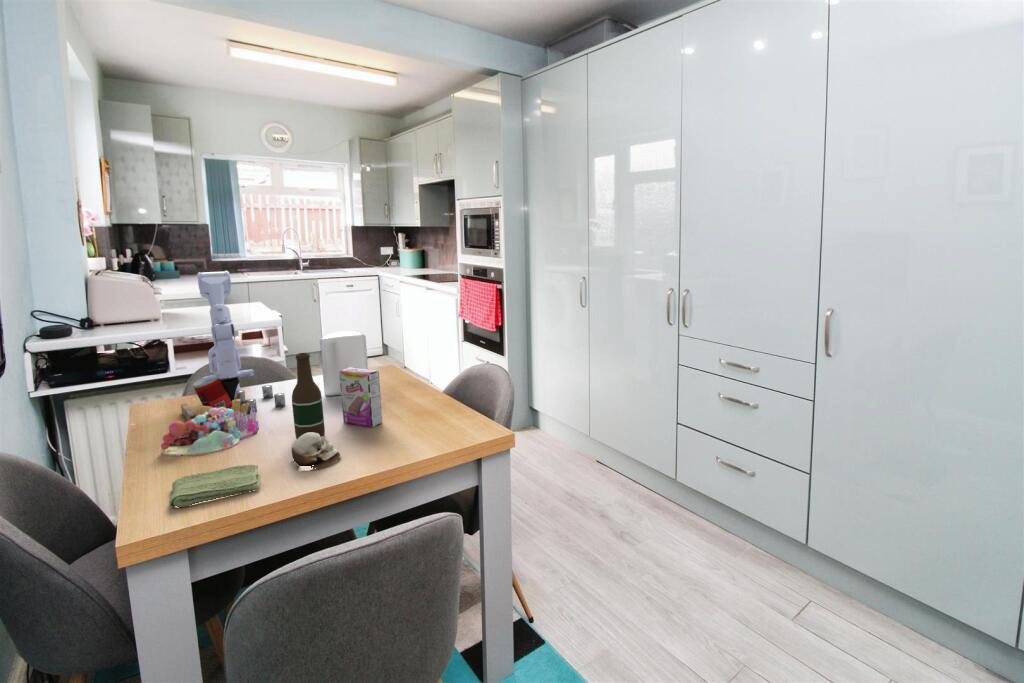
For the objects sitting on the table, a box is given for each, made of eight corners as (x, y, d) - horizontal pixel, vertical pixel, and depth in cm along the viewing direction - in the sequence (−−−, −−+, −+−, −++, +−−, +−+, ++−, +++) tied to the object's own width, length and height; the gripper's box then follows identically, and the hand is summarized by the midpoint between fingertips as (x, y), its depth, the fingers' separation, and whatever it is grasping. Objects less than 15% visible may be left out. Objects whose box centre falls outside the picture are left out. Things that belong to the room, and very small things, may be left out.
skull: (330, 443, 145) (337, 422, 138) (340, 478, 140) (348, 458, 133) (282, 452, 138) (287, 431, 131) (291, 489, 133) (297, 470, 126)
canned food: (237, 401, 179) (223, 371, 175) (224, 413, 172) (209, 383, 168) (216, 405, 180) (201, 376, 176) (202, 417, 173) (187, 387, 169)
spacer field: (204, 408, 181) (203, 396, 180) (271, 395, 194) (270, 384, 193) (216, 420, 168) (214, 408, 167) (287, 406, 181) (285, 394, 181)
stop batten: (182, 413, 176) (180, 404, 176) (187, 412, 177) (186, 403, 177) (191, 425, 164) (190, 416, 164) (197, 424, 165) (196, 415, 165)
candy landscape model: (172, 431, 161) (167, 401, 159) (259, 419, 170) (256, 390, 168) (156, 462, 138) (151, 428, 137) (258, 446, 148) (254, 414, 146)
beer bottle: (297, 444, 147) (288, 358, 142) (294, 435, 154) (285, 352, 149) (327, 439, 151) (319, 354, 146) (323, 430, 157) (315, 349, 153)
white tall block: (341, 384, 206) (336, 327, 202) (377, 385, 204) (373, 327, 200) (322, 396, 191) (316, 335, 187) (361, 397, 189) (356, 335, 185)
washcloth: (262, 493, 121) (261, 479, 120) (169, 513, 113) (167, 499, 112) (258, 471, 132) (256, 458, 132) (173, 488, 124) (171, 475, 123)
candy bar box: (342, 423, 163) (337, 370, 160) (353, 418, 168) (349, 366, 164) (372, 428, 159) (368, 373, 155) (383, 423, 163) (379, 369, 160)
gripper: (204, 366, 168) (210, 408, 170) (254, 358, 177) (259, 398, 179) (199, 362, 173) (205, 403, 176) (248, 355, 182) (253, 394, 185)
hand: (232, 400), depth 178 cm, fingers closed, pressing on canned food
